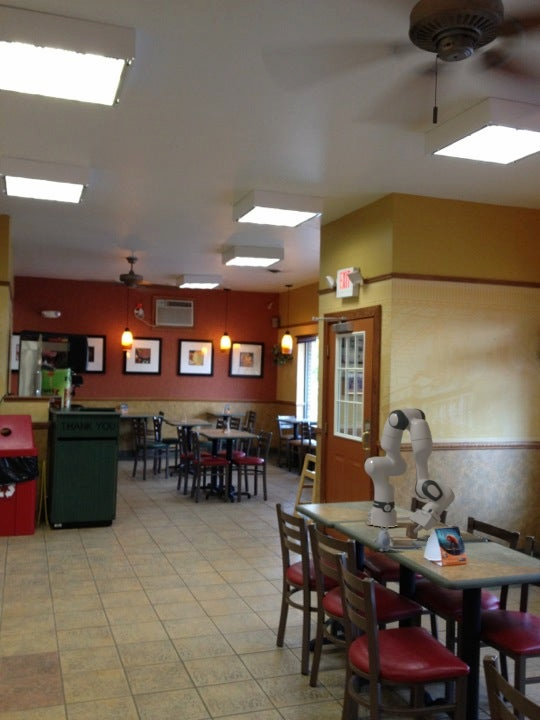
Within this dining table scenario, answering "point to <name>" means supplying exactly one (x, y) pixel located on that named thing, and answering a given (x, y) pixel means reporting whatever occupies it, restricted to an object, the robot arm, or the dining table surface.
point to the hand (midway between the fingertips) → (411, 531)
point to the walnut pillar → (411, 530)
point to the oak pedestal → (401, 540)
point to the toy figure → (383, 539)
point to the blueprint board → (405, 546)
